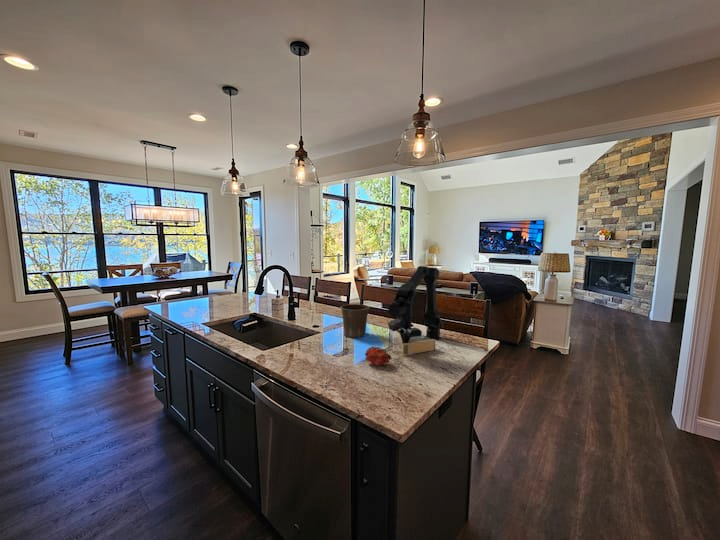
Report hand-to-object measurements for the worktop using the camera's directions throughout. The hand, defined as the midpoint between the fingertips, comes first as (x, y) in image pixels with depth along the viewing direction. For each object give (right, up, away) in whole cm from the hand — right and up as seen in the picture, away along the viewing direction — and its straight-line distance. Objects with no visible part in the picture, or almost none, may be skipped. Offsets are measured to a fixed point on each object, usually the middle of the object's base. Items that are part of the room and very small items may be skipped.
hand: (404, 345), depth 141 cm
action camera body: (+7, -3, +6) cm, 10 cm away
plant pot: (-24, -1, +28) cm, 37 cm away
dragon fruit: (-14, -5, -13) cm, 20 cm away
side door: (+7, -3, 0) cm, 8 cm away
